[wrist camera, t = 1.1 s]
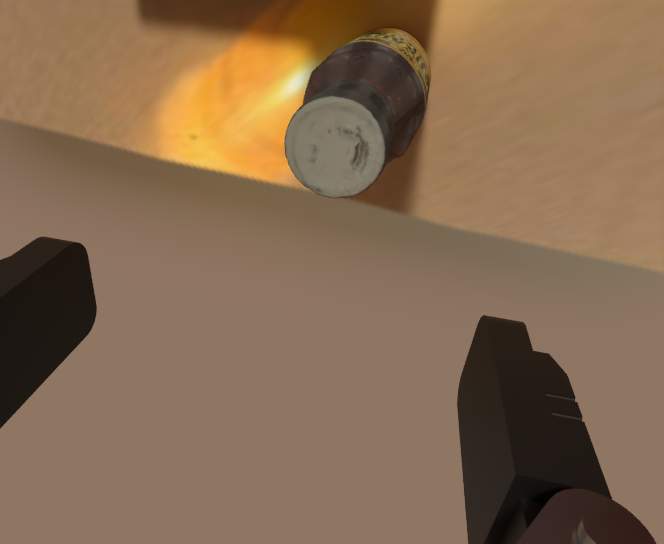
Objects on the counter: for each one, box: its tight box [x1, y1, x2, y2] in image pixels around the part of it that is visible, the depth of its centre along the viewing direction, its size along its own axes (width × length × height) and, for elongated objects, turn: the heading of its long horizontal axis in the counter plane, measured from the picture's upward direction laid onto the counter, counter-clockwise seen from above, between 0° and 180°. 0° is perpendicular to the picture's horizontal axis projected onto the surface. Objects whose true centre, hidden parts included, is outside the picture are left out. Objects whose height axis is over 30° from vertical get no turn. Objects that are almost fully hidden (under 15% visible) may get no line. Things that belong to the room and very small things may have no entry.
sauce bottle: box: [285, 28, 431, 198], centre depth 27 cm, size 7×6×20 cm
